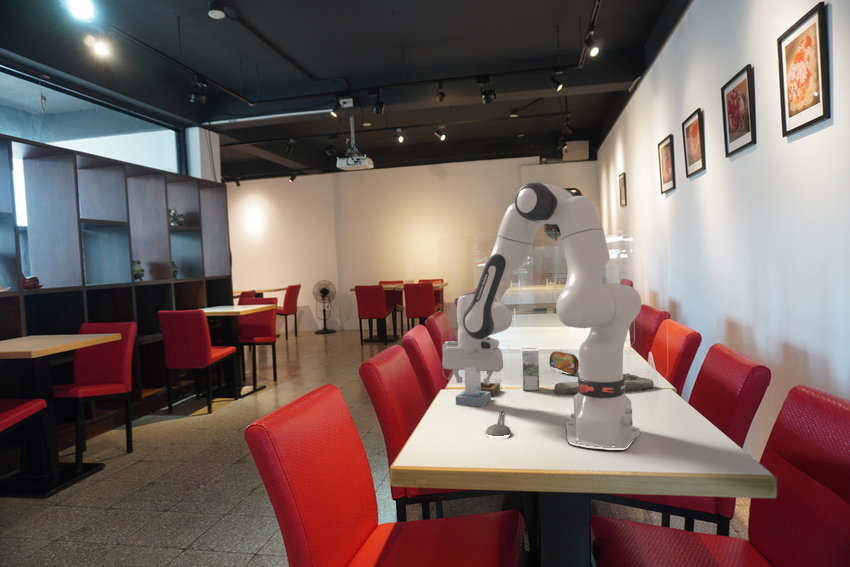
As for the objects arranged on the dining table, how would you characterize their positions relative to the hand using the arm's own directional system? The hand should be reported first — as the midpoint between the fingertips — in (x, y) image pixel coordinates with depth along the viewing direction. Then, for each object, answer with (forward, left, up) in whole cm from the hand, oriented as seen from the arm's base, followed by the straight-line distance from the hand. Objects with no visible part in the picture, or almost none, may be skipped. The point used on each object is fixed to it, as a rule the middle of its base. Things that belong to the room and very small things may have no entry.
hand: (472, 383), depth 171 cm
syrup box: (+21, -14, -6) cm, 26 cm away
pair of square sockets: (+6, 0, -6) cm, 9 cm away
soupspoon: (-21, -15, -7) cm, 26 cm away
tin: (+49, -21, -6) cm, 54 cm away
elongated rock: (+27, -38, -7) cm, 47 cm away
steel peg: (0, 0, -6) cm, 6 cm away
